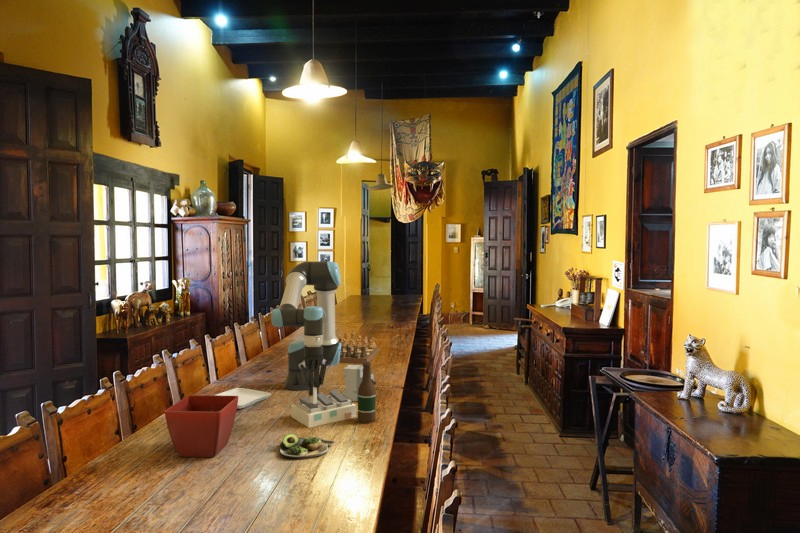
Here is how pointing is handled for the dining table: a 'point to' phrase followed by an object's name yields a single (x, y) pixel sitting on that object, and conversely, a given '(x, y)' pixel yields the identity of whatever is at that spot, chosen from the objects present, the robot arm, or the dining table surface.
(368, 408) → the beer bottle
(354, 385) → the circuit breaker
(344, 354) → the chess set
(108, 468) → the dining table surface
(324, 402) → the block
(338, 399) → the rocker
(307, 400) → the rocker
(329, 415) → the console
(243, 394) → the salad plate
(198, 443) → the plant pot
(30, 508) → the dining table surface
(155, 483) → the dining table surface
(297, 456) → the salad plate
